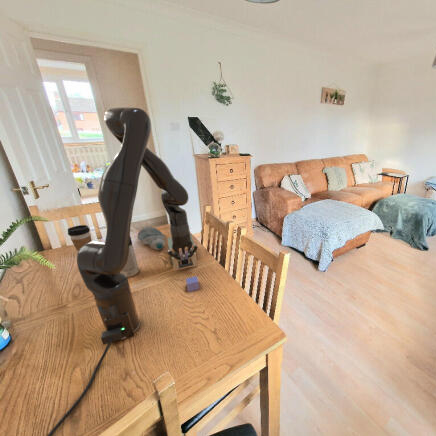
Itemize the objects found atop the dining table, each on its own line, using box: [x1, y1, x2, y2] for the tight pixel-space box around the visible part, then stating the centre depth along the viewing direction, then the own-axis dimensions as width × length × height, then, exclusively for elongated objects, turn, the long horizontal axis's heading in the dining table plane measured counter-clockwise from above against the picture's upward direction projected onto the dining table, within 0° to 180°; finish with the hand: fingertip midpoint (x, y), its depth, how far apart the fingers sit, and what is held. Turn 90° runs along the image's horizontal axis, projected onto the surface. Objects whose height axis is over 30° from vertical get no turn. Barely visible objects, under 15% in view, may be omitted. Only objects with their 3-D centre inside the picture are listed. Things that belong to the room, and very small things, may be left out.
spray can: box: [120, 236, 140, 278], centre depth 106 cm, size 7×7×20 cm
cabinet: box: [167, 233, 197, 266], centre depth 124 cm, size 14×12×9 cm
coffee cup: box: [67, 224, 93, 253], centre depth 121 cm, size 8×8×15 cm
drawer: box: [172, 247, 198, 272], centre depth 116 cm, size 17×10×7 cm, turn 29°
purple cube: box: [185, 275, 200, 293], centre depth 102 cm, size 4×4×4 cm
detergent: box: [137, 226, 166, 251], centre depth 134 cm, size 13×7×25 cm
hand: (185, 265), depth 111 cm, fingers closed
